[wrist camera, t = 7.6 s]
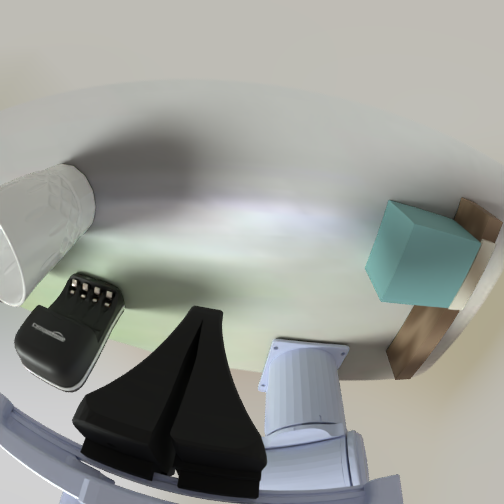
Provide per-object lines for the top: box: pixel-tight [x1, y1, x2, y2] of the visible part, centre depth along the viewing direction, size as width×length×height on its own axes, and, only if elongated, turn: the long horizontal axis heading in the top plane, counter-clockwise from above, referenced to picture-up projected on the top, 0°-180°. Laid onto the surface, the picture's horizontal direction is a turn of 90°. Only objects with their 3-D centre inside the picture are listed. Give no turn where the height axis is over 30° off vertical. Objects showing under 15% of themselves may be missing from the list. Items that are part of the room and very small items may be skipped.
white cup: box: [0, 164, 96, 307], centre depth 15 cm, size 8×8×10 cm
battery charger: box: [14, 274, 125, 392], centre depth 19 cm, size 7×4×11 cm, turn 77°
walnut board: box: [386, 198, 503, 380], centre depth 20 cm, size 18×2×4 cm, turn 172°
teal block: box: [365, 200, 481, 308], centre depth 18 cm, size 6×7×4 cm
